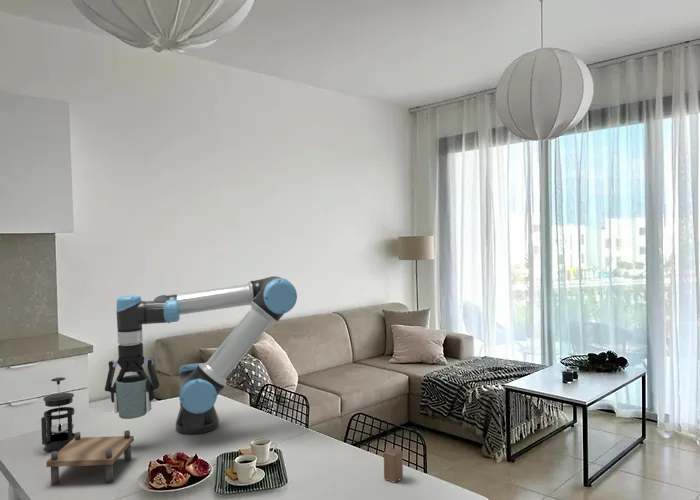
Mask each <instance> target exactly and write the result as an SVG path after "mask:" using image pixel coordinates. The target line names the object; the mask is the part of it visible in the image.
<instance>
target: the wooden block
mask: <svg viewBox="0 0 700 500" xmlns="http://www.w3.org/2000/svg"><path fill="white" fill-rule="evenodd" d="M403 464H404V463H403V450H400V449H396V448H393V447H392V448H389V449H387V450H385V451H384V452H383V478H385V479H388V480H391V481H394V482H396V481H398V480H399V479H401V478H402V479H403V477H404V475H403V473H404V472H403V470H404V469H403V466H404V465H403ZM385 479H384V480H385ZM402 479H401V480H402ZM399 481H400V480H399ZM399 481H398V482H399ZM396 483H397V482H396Z"/></svg>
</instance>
